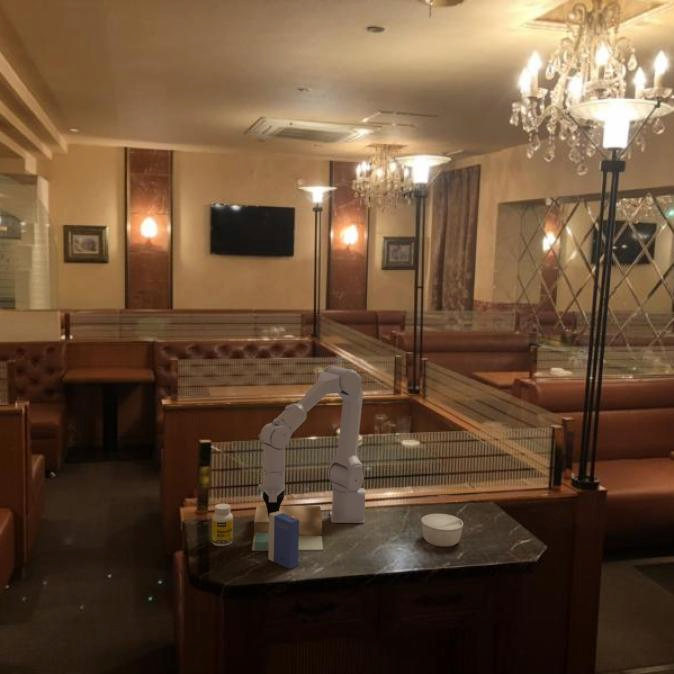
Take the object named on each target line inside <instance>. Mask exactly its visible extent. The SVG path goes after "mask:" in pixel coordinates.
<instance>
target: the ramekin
mask: <svg viewBox="0 0 674 674" xmlns="http://www.w3.org/2000/svg"><path fill="white" fill-rule="evenodd" d="M420 524H421V528H422V536H423V538H424V540H425V542H427V543H428V544H430V545H433V546H437V547H445V548H447V547H452V546H453V547H454V546H455V545H456V544H458V543H459V542H460V540H461V535H462V530H463V529H464V522H463V520H462V519H460V518H458V517H457V516H456V515H455V516H454V515H451V514H446V513H431V514H426V515H424V516H422V517H421V519H420Z"/></svg>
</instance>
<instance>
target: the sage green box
mask: <svg viewBox="0 0 674 674" xmlns="http://www.w3.org/2000/svg"><path fill="white" fill-rule="evenodd" d="M255 550H269V533H256V537H255Z"/></svg>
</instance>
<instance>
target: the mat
mask: <svg viewBox="0 0 674 674" xmlns="http://www.w3.org/2000/svg"><path fill="white" fill-rule="evenodd" d="M255 537H256V536H254V535H253V541H252V546H251V551H256V552H257V551H268V552H269V550H255ZM323 550H324V547H323V536H299V546H298V552H299V551H303V552H305V551H315V552H316V551H318V552H320V551H322V552H323Z"/></svg>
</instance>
